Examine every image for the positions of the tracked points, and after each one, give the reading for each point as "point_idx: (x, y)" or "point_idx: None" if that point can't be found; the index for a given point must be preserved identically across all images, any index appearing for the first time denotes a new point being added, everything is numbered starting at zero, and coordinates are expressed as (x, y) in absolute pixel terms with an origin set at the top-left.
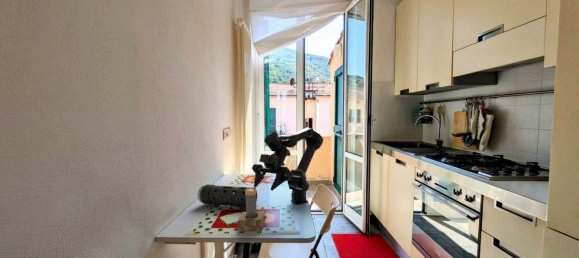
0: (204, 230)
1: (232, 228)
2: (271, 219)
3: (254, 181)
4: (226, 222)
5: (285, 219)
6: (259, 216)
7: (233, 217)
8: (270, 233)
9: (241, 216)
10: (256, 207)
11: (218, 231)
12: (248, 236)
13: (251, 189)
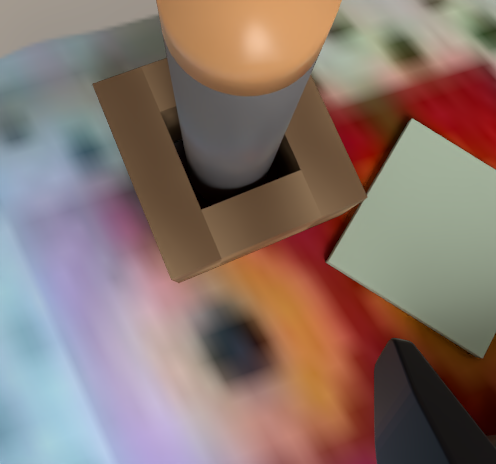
0: (492, 9)
1: (337, 87)
2: (139, 328)
3: (482, 432)
4: (436, 138)
5: (18, 369)
6: (149, 142)
7: (453, 239)
8: (30, 95)
9: (307, 98)
10: (183, 133)
11: (395, 22)
12: (158, 15)
13: (264, 24)
